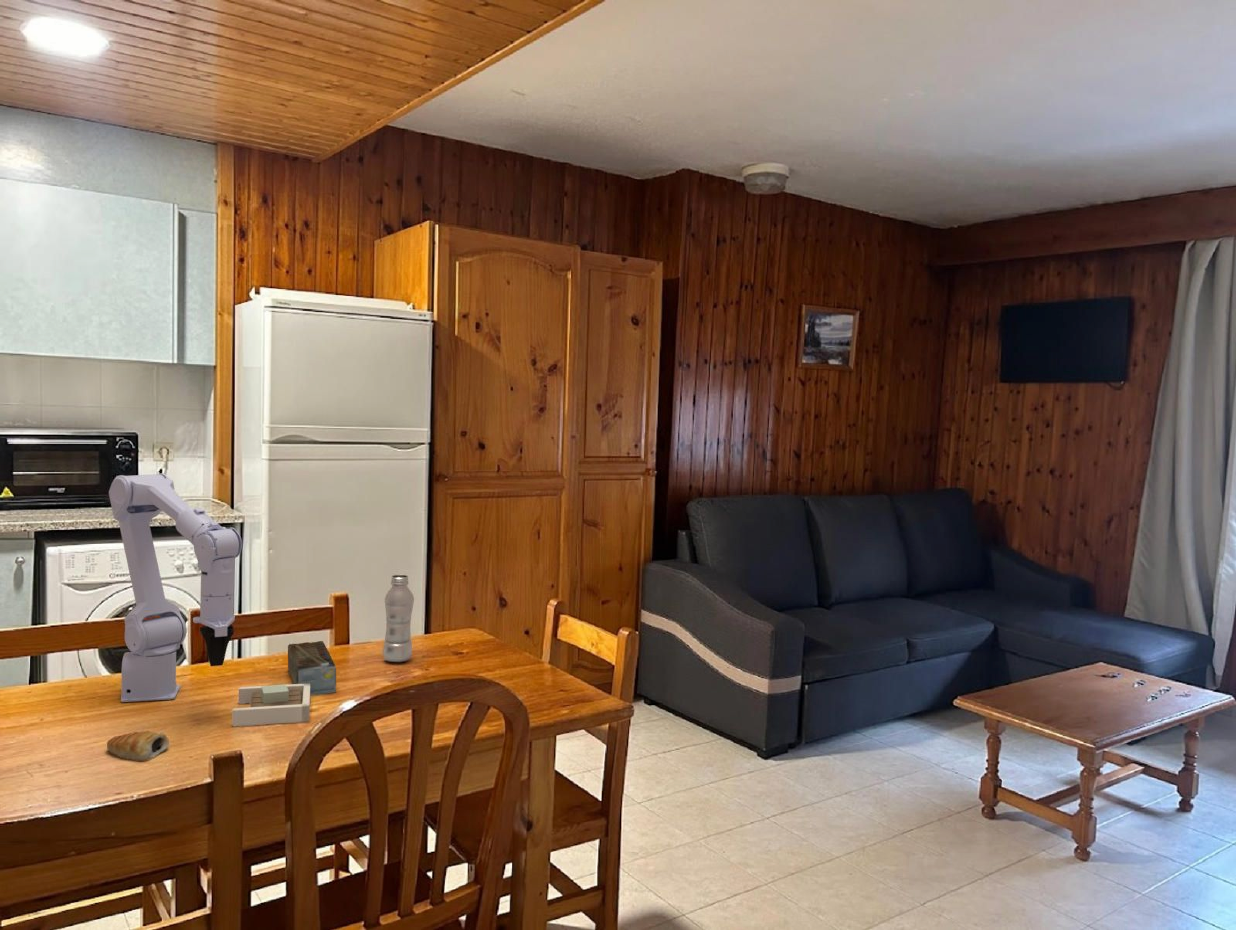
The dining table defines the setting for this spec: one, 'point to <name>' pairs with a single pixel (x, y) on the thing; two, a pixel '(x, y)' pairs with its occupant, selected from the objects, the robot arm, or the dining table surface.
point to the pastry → (138, 745)
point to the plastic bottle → (398, 620)
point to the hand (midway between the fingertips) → (216, 664)
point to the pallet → (293, 700)
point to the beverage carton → (312, 667)
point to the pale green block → (274, 693)
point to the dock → (271, 708)
